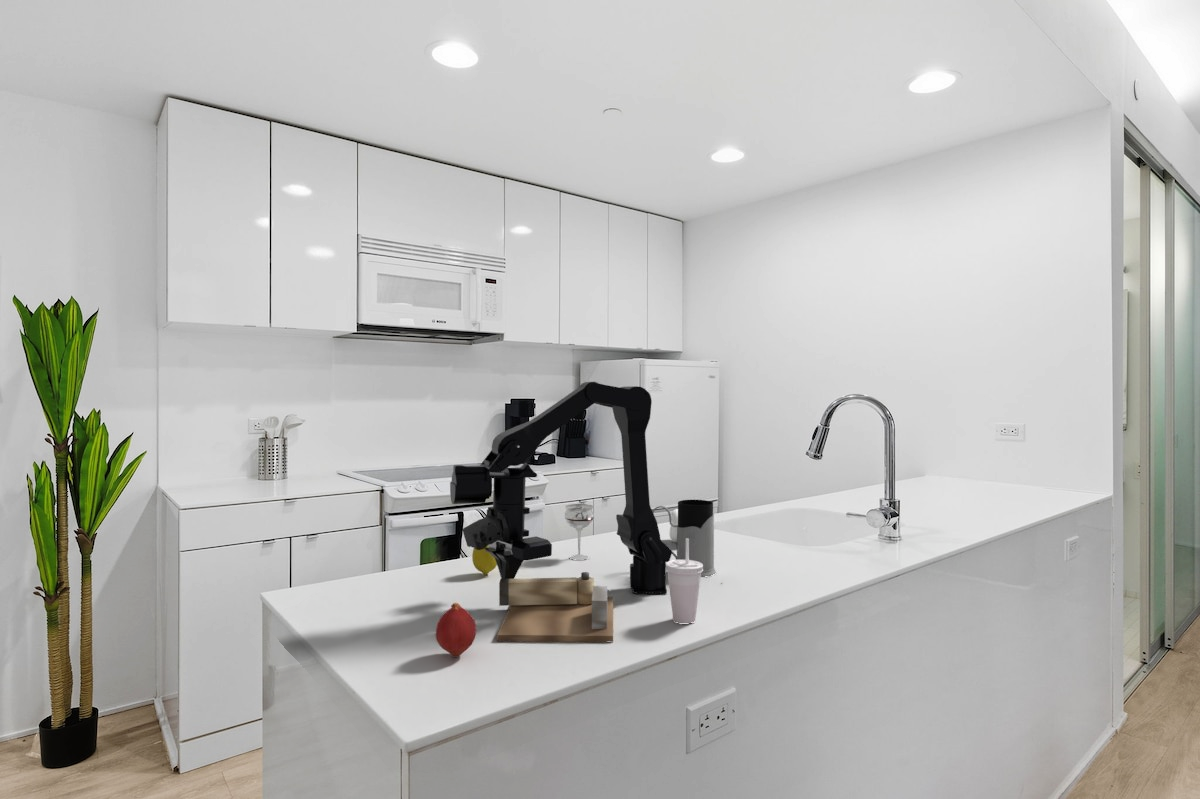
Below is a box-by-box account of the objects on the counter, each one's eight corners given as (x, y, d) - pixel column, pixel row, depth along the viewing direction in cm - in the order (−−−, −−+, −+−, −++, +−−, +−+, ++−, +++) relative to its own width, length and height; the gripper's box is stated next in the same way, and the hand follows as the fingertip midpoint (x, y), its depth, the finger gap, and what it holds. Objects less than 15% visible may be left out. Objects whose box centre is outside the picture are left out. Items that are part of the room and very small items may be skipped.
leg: (593, 598, 123) (593, 576, 123) (594, 604, 120) (594, 581, 120) (500, 600, 122) (500, 578, 122) (499, 606, 119) (499, 583, 119)
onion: (439, 649, 103) (439, 596, 103) (477, 648, 103) (477, 595, 103) (433, 664, 97) (432, 608, 97) (474, 663, 97) (474, 607, 97)
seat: (613, 602, 126) (613, 567, 125) (613, 642, 106) (613, 601, 105) (515, 601, 126) (515, 566, 126) (497, 641, 106) (497, 600, 106)
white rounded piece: (702, 551, 165) (702, 514, 165) (657, 545, 171) (657, 510, 171) (718, 542, 175) (719, 507, 175) (676, 537, 181) (676, 503, 181)
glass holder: (710, 579, 141) (711, 506, 140) (645, 572, 146) (645, 502, 146) (719, 569, 149) (719, 500, 148) (657, 563, 154) (657, 496, 154)
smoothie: (693, 630, 111) (693, 544, 111) (658, 623, 114) (658, 539, 114) (709, 618, 116) (709, 537, 116) (675, 612, 120) (675, 532, 120)
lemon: (493, 579, 141) (493, 540, 141) (468, 577, 142) (468, 539, 142) (502, 572, 146) (502, 535, 146) (478, 570, 147) (478, 533, 147)
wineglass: (576, 552, 163) (576, 503, 163) (599, 557, 159) (599, 505, 159) (558, 558, 158) (558, 506, 158) (581, 563, 154) (581, 509, 154)
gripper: (443, 498, 125) (441, 583, 125) (501, 515, 111) (499, 610, 111) (494, 493, 132) (492, 573, 132) (554, 508, 118) (552, 597, 119)
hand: (506, 587), depth 124 cm, fingers closed
